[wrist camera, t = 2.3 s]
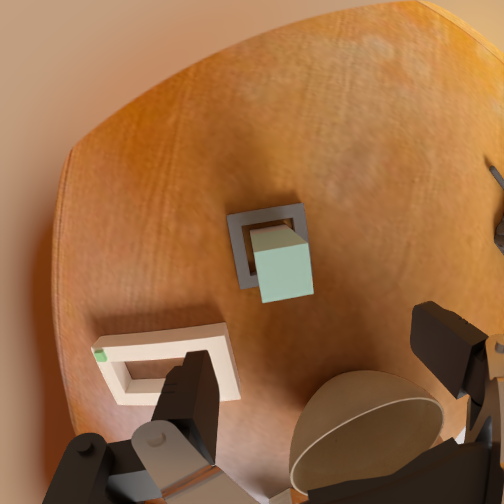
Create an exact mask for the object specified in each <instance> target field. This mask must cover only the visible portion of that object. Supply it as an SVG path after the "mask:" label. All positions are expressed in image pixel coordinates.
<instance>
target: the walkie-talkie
mask: <svg viewBox="0 0 504 504" xmlns="http://www.w3.org/2000/svg"><path fill="white" fill-rule="evenodd" d="M490 172H491V173H492V174H493V176H494V177H495V178H496V180H497V181H498V183H499V184H500V185H501V187H502V188H503V190H504V179H503V178H502V176H501V175H500V174H499V172H498V171H497V169H496V168H495V167H494V166H491V167H490ZM496 232H497V233H496V236H495V238H494V243H495V244H496V245H497V247H498V248H499V249H500V251H501V252H502V253H503V255H504V215H503V218H502V220H501V223H500V224H499V225H498V226H497V229H496Z"/></svg>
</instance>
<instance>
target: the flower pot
mask: <svg viewBox="0 0 504 504" xmlns="http://www.w3.org/2000/svg"><path fill="white" fill-rule="evenodd" d="M443 424H444V411H443V408H442V406H441V405H440V404H439V403H438V401H437V400H436V399H435V398H434V397H432V396H431V395H430V394H429V393H428V392H426V391H425V390H424V389H422V388H421V387H419V386H417V385H416V384H414V383H412V382H410V381H408V380H406V379H404V378H402V377H399V376H396V375H393V374H390V373H386V372H381V371H371V370H360V371H351V372H346V373H343V374H340V375H337V376H335V377H333V378H332V379H330V380H328V381H327V382H326V383H325V384H323V385H322V386H321V387H320V388H319V389H318V390H317V391H316V393H315V394H314V395H313V396H312V397H311V399H310V400H309V401H308V403H307V404H306V406H305V407H304V409H303V411H302V413H301V415H300V417H299V419H298V421H297V424H296V427H295V430H294V434H293V437H292V442H291V448H290V458H289V473H290V481H291V484H292V486H293V487H294V488H295V489H296V490H297V491H298V492H300V493H302V494H304V495H306V496H308V494H307V490H312V489H316V488H321V487H325V486H329V485H333V484H337V483H341V482H344V481H348V480H358V479H366V478H374V477H381V476H387V475H391V474H393V473H395V472H396V471H398V470H399V469H401V468H402V467H403V466H405V465H406V464H408V463H409V462H410V461H412V460H413V459H415V458H416V457H417V456H419V455H420V454H421V453H422V452H424V451H427V450H429V449H431V447H432V446H433V445H434V443H435V442H436V440H437V439H438V437H439V435H440V433H441V431H442V428H443Z"/></svg>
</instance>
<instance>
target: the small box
mask: <svg viewBox="0 0 504 504" xmlns="http://www.w3.org/2000/svg"><path fill="white" fill-rule="evenodd" d="M306 500H308V496H306V495H304V494H302V493H300V492H298V491H297V490H296V489H292V488H288V489H286V490H285V491H283V492H281V493H279V494H277V495H276V496H274V497H272V498H270V499H269V504H299V503H301V502H304V501H306Z"/></svg>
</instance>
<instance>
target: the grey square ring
mask: <svg viewBox="0 0 504 504" xmlns="http://www.w3.org/2000/svg"><path fill="white" fill-rule="evenodd" d="M286 218H291V219H292V225H293V231H294V232H295V233H296V234H298V235H299V236H300V237H301V238H302V239H304V240H305V241H306V242H307V243H308V248H309V256H310V264H311V273H312V277H313V272H312V263H311V254H310V246H309V238H308V231H307V223H306V216H305V209H304V203H294V204H288V205H281V206H275V207H269V208H263V209H257V210H251V211H245V212H239V213H234V214H228V215H227V221H228V227H229V232H230V238H231V243H232V249H233V254H234V259H235V265H236V270H237V275H238V280H239V286H240V289H246V288H252V287H258V286H259V281H258V276H257V271H256V272H251V273H250V271H249V265H248V260H247V254H246V248H245V243H244V237H243V231H242V226H245V225H250V224H256V223H262V222H268V221H274V220H280V219H286Z"/></svg>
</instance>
